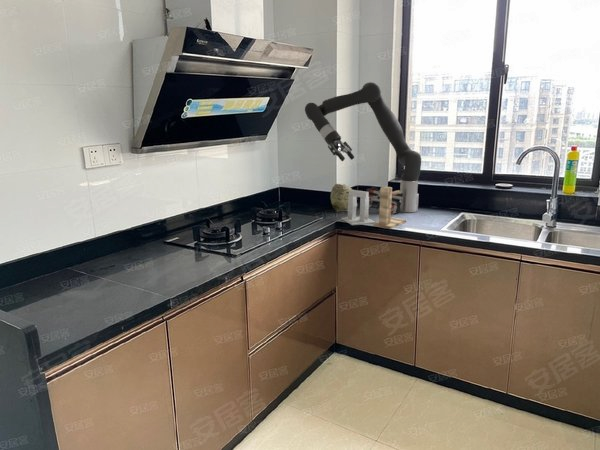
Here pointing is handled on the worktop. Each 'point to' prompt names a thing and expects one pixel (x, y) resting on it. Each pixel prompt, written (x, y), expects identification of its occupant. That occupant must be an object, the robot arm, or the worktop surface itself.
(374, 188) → the toy blaster
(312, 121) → the robot arm
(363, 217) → the link
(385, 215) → the stand
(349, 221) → the mat
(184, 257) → the worktop surface
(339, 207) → the fossil
